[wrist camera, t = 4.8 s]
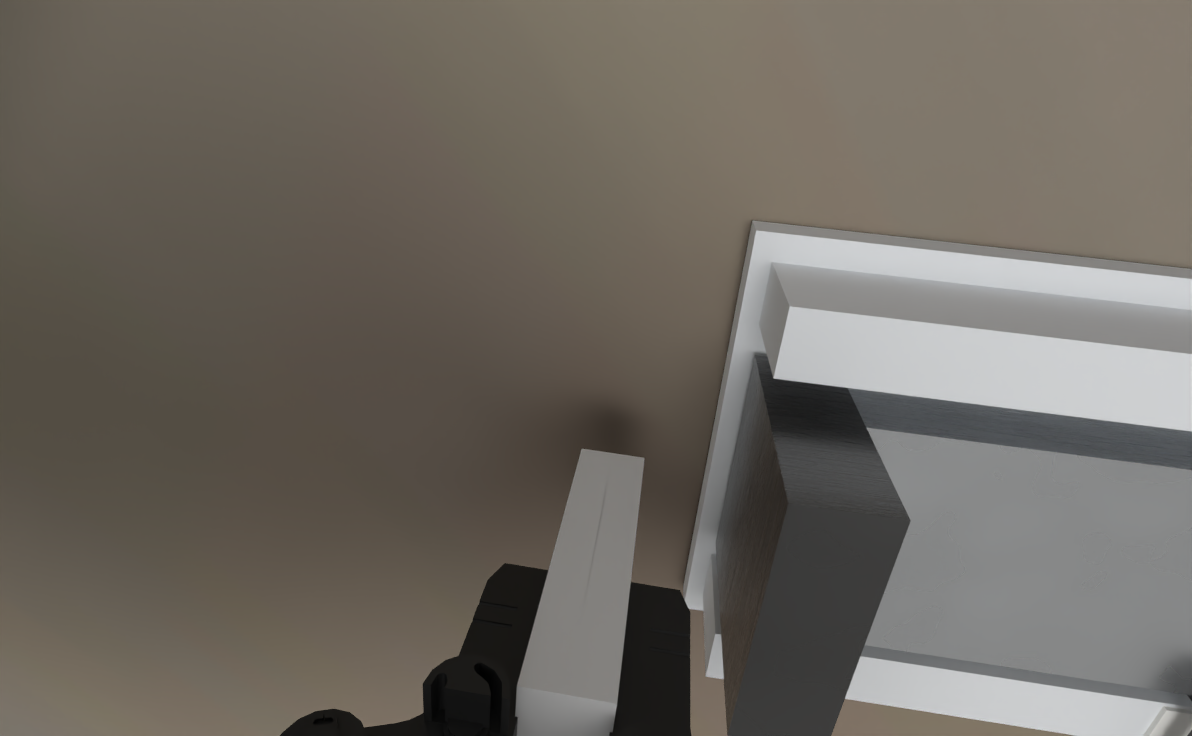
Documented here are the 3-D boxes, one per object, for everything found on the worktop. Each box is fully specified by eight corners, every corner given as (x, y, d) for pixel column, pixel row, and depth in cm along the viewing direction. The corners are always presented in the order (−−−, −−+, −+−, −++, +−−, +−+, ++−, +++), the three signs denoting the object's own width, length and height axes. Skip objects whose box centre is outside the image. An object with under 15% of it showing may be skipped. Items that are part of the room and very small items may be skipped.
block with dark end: (699, 617, 20) (704, 820, 15) (754, 354, 16) (788, 503, 11) (1141, 685, 20) (1313, 927, 14) (1312, 424, 16) (1643, 623, 10)
